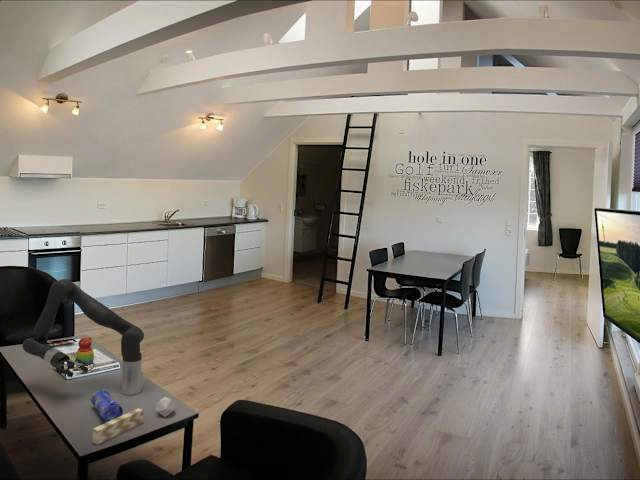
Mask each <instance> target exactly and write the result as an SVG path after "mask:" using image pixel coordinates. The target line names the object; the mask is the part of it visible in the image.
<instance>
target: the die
mask: <svg viewBox="0 0 640 480" xmlns="http://www.w3.org/2000/svg"><path fill="white" fill-rule="evenodd" d="M155 407H156V408H155V411H156V413H158V414H160V415H161V416H162V417H166V418H167V417H168V415H170V414H171V413H173V412H174V411H175V401H174V400H172V399H171V398H170V397H167V396H164V397H163V398H162V399H160V400H158V401H157V402H156V403H155Z"/></svg>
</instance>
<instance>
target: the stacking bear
mask: <svg viewBox="0 0 640 480" xmlns="http://www.w3.org/2000/svg"><path fill="white" fill-rule="evenodd" d="M92 344H93V343H92V337H91V336H89V337H82V338H80V339H79V341H78V349H77V351H76V354H75V359H76V358H78V359H80V360H81V361H83V362H85V366H88V365H91V364H94V359H95V353H94V349H93V347H92Z"/></svg>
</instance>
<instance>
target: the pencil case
mask: <svg viewBox="0 0 640 480" xmlns="http://www.w3.org/2000/svg"><path fill="white" fill-rule="evenodd" d="M90 401H91V404H92V405H93V407H94V409H95V410H96V411H97V412H98V414H99V416H100V417H101V419H102V420H103V421H104V422H105V423H107V422H109V421H111V420H113V419H116V418H118V417H120V416H122V415H123V414H124V408H123V406H122V405H121V404H119V403H118V401H116V400H115V399H113V397H112V396H111V395H110V392H109V391H108V390H106V389H99V390H97V391H95V392H93V394H91V396H90Z"/></svg>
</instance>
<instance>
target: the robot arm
mask: <svg viewBox="0 0 640 480" xmlns="http://www.w3.org/2000/svg"><path fill="white" fill-rule="evenodd" d="M65 299H67V300H69V301H71V302H72V303H74V304H75V305H77V306H78V308H79V309H80V310H81V311H82V312H83V314H84V315H85V316H86V317H87V318H88V319H89V320H91V321H92V322H94V323H95V324H97V325H99V326H102V327H104V328H108V329H111V330H113V331H115V332H116V333H118V334H120V335H121V339H120V344H121V345H120V346H121V347H120V350H121V351H120V352H121V353H120V354H121V357H122V360H121V361H122V364H121V365H122V367H121V370H122V371H121V372H122V374H121V376H122V377H121V378H122V379H121V393H122V394H124V395H126V396H132V395H137V394H140V393H141V391H143V389H144V388H143V385H144V383H143V382H144V381H143V379H144V372H143V371H142V361H143V360H142V359H143V358H142V357H143V356H142V355H143V354H142V352H141V343H142V342H143V340H144V338H145V333H144V331H143V330H142V329H141V328H140V327H139V326H136V325H135V324H133V323H131V322H129V321H127V320H126V319H124V318H123V317H122V316H120V315H119V314H118V313H116V312H114V311H113V310H111V309H110V308H109V307H107V306H106V305H104V304H103V303H102V302H100V301H98V300H97V299H96V298H94V297H93V296H92V295H89V294H88V293H87V292H85V291H84V290H82V288H80V287H79V286H78V285H77V284H76V283H75V282H73V281H72V280H70V279H67V278H63V279H59V280H57V281H55V282H53V283H52V284H51V286H50V288H49V292H48V295H47V299H46V301H45V305H44V308H43V310H42V311H41V314H40V316H39V318H38V319H37V322H36V323H35V326H34V328H33V334H35V335H36V337H29V338H26V339H24V340H23V341H22V345H21V346H22V349H23V351H25V352H26V353H28V354H30V355H31V356H35V357H38V358H40V359H42V360H43V361H45V362H46V363H47V364H49V365H50V366H51V367H52V370H53V371H54V372H55V373H56V374H58V375H60V376H61V375H62V374H63V375H66V376H68V377H70V378H72V377H73V376H74V372H73V371H71V370H75V369H81V370H82V371H81V372H84V373H88V371H89V370H88V368H87V367H85V362H83V361H81V360H80V359H78V358H76V357H75V360H73V359H71V358H70V356H69V355H68V354H66V353H64V352H63V351H61V350H60V349H57V348H55V347H54V346H52V345H50V344H47V343H48V338H49V334H50V331H51V329H52V327H53V326H54V322H55V320H56V315H57V312H58V310H59V307H60V305H61V304H62V302H63V301H64V300H65ZM75 364H76V367H74V365H75ZM78 366H80V367H78Z"/></svg>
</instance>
